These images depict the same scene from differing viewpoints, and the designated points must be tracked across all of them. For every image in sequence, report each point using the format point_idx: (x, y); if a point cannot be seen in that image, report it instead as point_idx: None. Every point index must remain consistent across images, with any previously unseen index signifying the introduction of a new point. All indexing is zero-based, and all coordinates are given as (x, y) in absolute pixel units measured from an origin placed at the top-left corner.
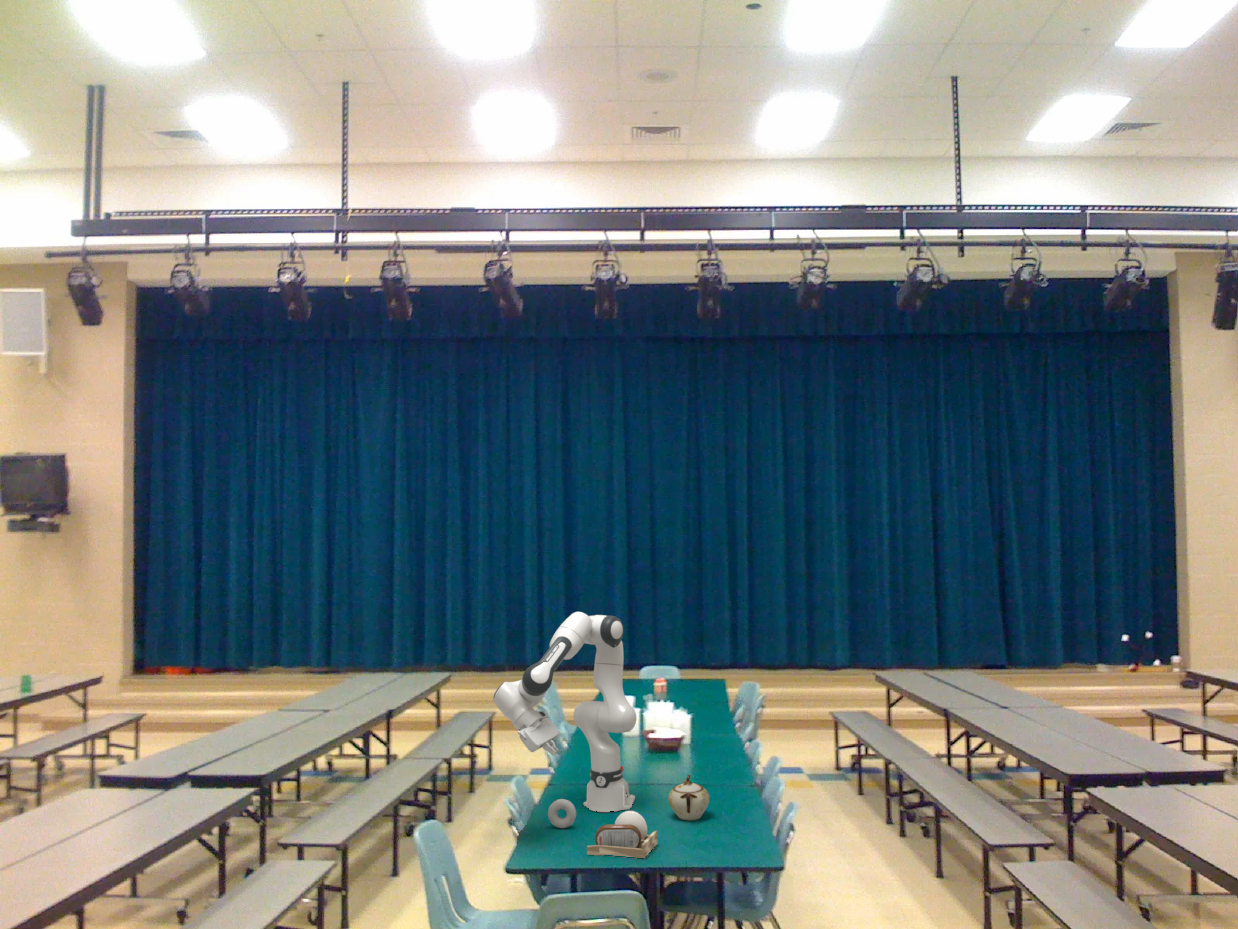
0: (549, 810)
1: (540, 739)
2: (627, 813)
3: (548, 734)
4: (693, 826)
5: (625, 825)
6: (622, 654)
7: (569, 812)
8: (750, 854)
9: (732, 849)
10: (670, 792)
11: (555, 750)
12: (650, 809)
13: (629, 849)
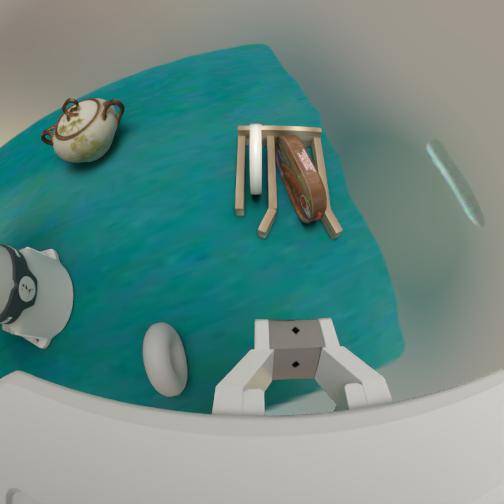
0: (178, 391)
1: (499, 410)
2: (261, 141)
3: (244, 475)
4: (141, 125)
5: (293, 148)
6: None
7: (171, 336)
8: (250, 56)
9: (237, 69)
10: (77, 143)
11: (313, 325)
12: (57, 216)
13: (322, 155)
